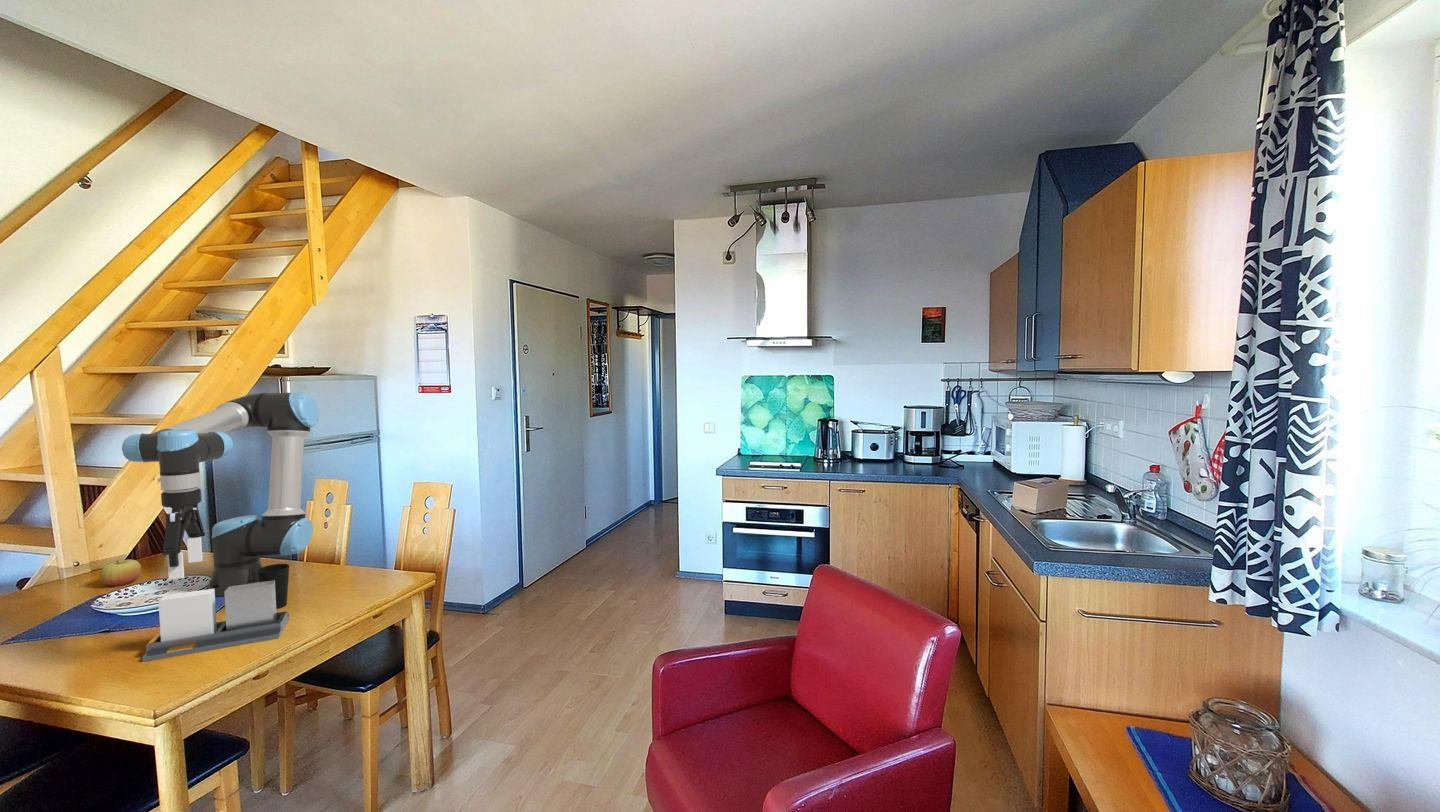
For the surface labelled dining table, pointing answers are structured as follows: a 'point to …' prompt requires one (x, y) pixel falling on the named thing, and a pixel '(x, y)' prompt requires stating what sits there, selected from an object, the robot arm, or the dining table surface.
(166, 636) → the block
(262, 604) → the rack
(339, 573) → the dining table surface
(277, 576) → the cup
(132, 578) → the apple
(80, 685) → the dining table surface
